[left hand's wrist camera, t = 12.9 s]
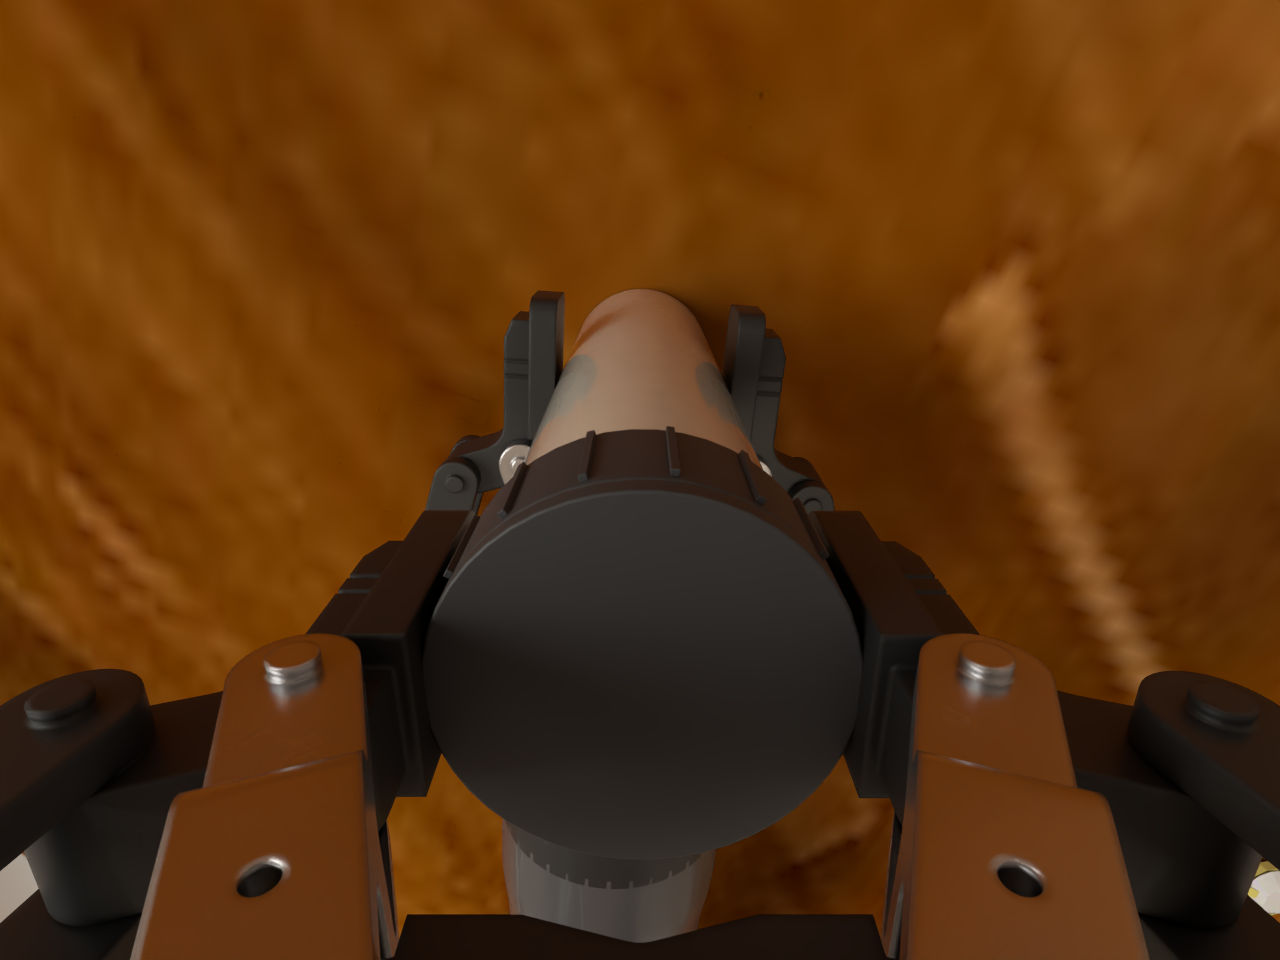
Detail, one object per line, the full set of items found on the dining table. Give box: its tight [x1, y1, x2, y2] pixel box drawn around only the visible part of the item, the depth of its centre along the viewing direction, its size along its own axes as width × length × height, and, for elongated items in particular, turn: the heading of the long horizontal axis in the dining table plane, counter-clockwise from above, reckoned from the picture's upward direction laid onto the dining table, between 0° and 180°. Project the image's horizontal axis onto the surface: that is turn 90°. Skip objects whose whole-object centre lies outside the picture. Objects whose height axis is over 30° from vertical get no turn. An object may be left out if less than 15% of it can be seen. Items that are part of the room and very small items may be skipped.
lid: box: [422, 426, 863, 859], centre depth 10 cm, size 5×5×2 cm
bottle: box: [524, 289, 763, 470], centre depth 18 cm, size 5×5×19 cm
